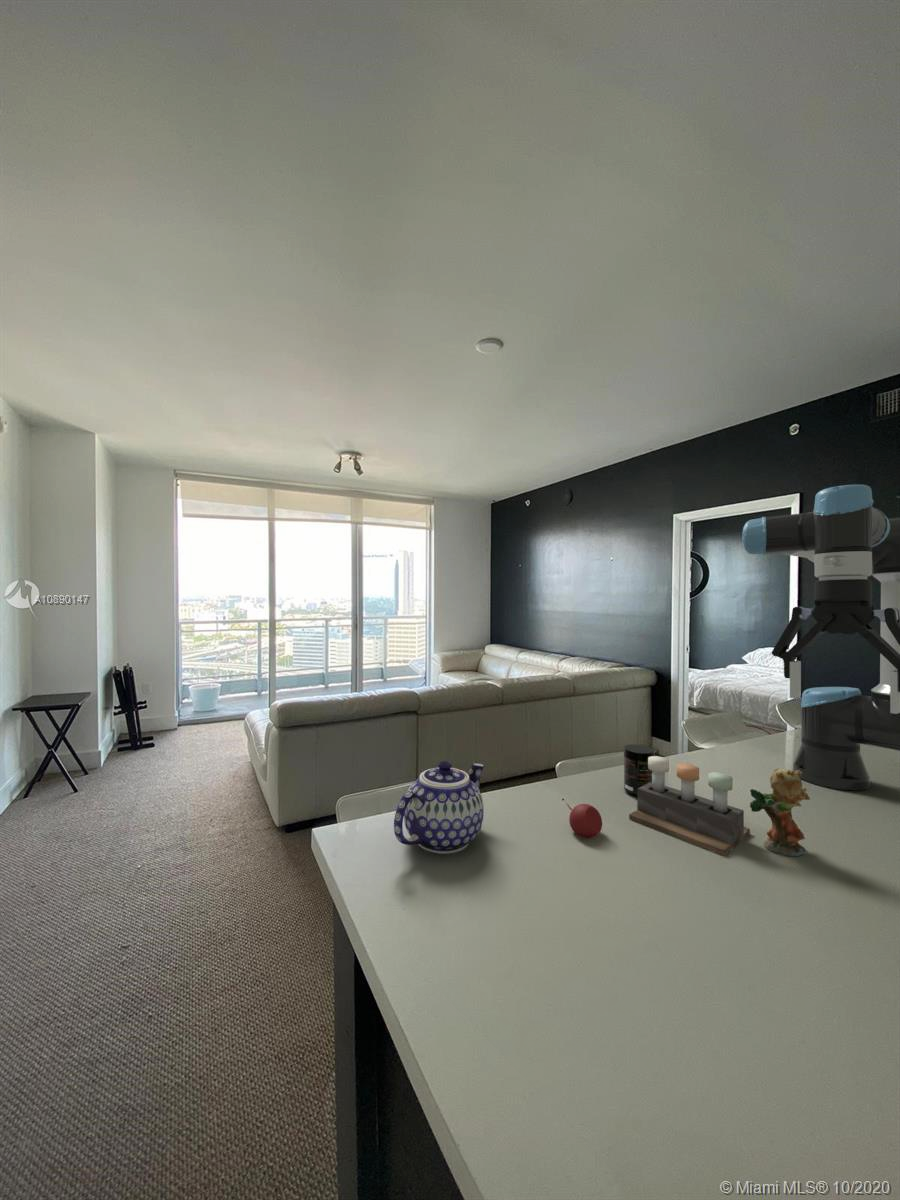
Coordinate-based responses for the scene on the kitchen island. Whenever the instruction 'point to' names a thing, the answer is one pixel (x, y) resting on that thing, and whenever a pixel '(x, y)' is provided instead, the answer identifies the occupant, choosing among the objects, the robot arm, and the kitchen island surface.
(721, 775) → the sage button
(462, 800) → the teapot
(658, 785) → the cream button
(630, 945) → the kitchen island surface
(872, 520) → the robot arm
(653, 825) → the button board
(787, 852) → the figurine
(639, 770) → the supplement container
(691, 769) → the orange capped peg
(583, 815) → the fruit
